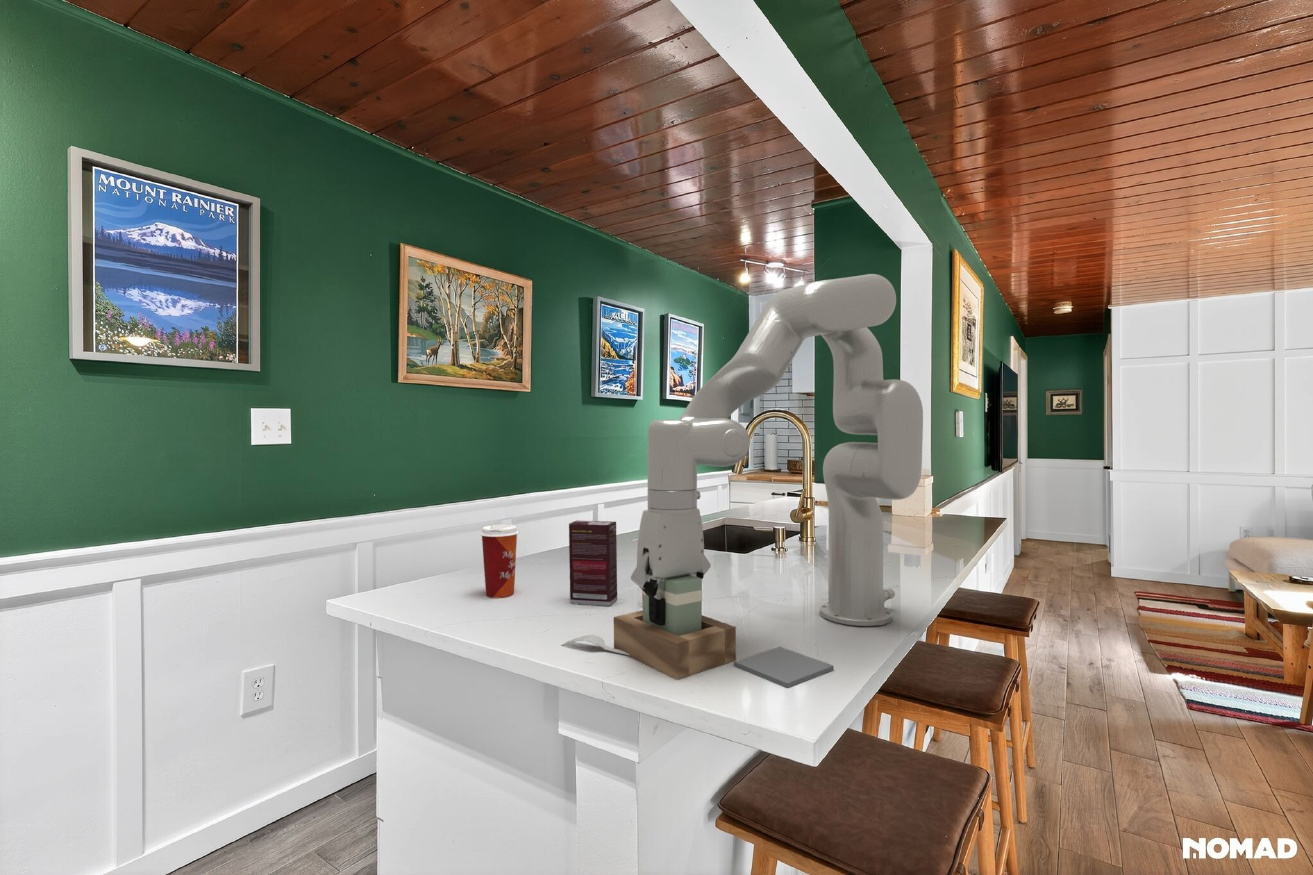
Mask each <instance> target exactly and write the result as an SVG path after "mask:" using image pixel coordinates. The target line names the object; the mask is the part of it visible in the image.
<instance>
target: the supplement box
mask: <svg viewBox="0 0 1313 875" xmlns="http://www.w3.org/2000/svg"><path fill="white" fill-rule="evenodd" d="M617 542H618V541H617V521H611V520H610V521H608V520H607V521H606V520H605V521H603V520H602V521H601V520H578V519H577V520H575V521H572V522H570V523H568V544H569V545H568V550H569V554H568V555H569V556H568V557H569V603H570V604H573V605H574V604H577V605H590V606H603V607H604V606H605V607H610V606H612V605H613V604H615V602H617V601H618V564H617V563H618V561H617V560H618V558H617V555H618V553H617V550H618V548H617Z"/></svg>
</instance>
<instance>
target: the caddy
mask: <svg viewBox="0 0 1313 875" xmlns="http://www.w3.org/2000/svg"><path fill="white" fill-rule="evenodd" d="M736 630H737V627H736V626H734V625H731V624H728V623H725V622H723V621H720V620H717V619H714V618H711V617H708V616H706V615H703V614H702V618H701V630H699V631H695V632H692V633H688V634H684V635H681V636H678V635H675V634H673V633H670V632H668V631H665V630H663V629H660V628H658V627H655V626H653V625H650V624H648V623H645V622H643V609H642V610H639V611H638V610H637V611H634V612H631V613H626V614H621V615H617V616H613V648H614V649H618V650H622V651H624V652H626V653H628V654H629V655H627V657H630V658H632V659H634V660H636V661H638V662H640V663H642V664H644V665H646V666H648V667H650V668H653V669H655V670H656V671H657V672H658V671H659V672H661V673H663V674H665V675H667V676H668V677H669V676H670V677H671V678H673V679H675V680H680V679H683V678H686V677H689V676H691V675H695V674H698V673H701V672H705V671H707V670H710V669H715V668H716V667H719V666H722V665H726V664H729V663H732V662H734V661H737V659H736V657H737V642H736V641H737V631H736Z"/></svg>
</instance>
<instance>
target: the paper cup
mask: <svg viewBox="0 0 1313 875" xmlns="http://www.w3.org/2000/svg"><path fill="white" fill-rule="evenodd" d="M518 534H519V531H518V529H517V526H516V525H514V524H491V525H485V526H483V527H482V528H481V532H480V536H481V540H482V542H481V543H482V556H483V572H484V573H483V574H484V584H485V586H484V587H485V595H486V597H488V598H490V599H491V598H492V599H502V598H504V599H505V598H509V597H511V596H513V595H514V593H515V585H516V584H515V582H516V579H515V578H516V564H517V562H516V560H517V540H518Z"/></svg>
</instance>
